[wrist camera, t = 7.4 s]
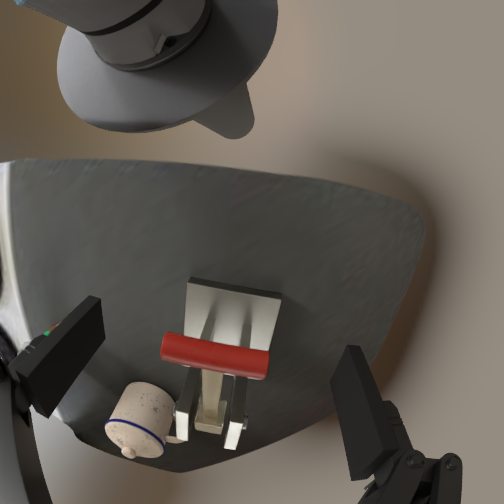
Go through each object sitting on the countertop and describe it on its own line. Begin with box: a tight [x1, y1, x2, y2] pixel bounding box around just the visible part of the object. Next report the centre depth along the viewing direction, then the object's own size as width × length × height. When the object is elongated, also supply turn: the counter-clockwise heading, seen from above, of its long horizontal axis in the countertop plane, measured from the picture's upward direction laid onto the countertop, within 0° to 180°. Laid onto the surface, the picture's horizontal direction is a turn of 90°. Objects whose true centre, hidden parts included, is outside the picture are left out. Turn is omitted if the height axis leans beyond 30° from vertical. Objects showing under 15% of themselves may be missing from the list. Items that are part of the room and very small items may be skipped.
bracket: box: [173, 277, 282, 450], centre depth 25 cm, size 12×10×15 cm
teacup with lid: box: [105, 382, 185, 458], centre depth 32 cm, size 12×9×12 cm
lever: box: [161, 332, 270, 434], centre depth 16 cm, size 13×5×2 cm, turn 170°
